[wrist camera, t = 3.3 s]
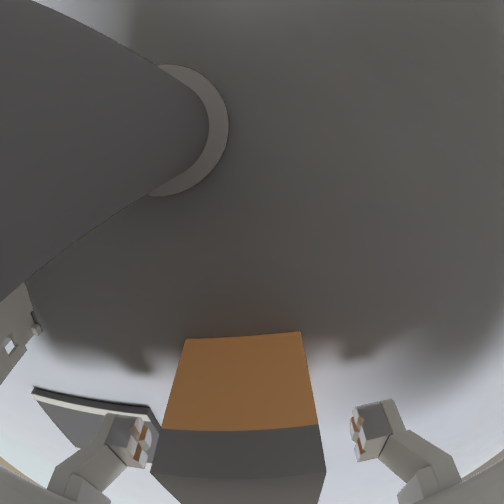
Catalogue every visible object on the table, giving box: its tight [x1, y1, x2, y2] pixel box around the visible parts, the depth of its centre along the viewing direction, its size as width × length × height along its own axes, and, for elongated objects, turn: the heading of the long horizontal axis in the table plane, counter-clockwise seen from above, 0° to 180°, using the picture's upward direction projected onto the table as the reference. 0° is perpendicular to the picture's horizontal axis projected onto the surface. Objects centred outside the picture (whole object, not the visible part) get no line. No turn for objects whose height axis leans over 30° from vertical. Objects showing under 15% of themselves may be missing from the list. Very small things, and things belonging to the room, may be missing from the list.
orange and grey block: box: [150, 331, 326, 504], centre depth 9 cm, size 4×4×6 cm
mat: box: [31, 388, 161, 466], centre depth 14 cm, size 9×7×1 cm
